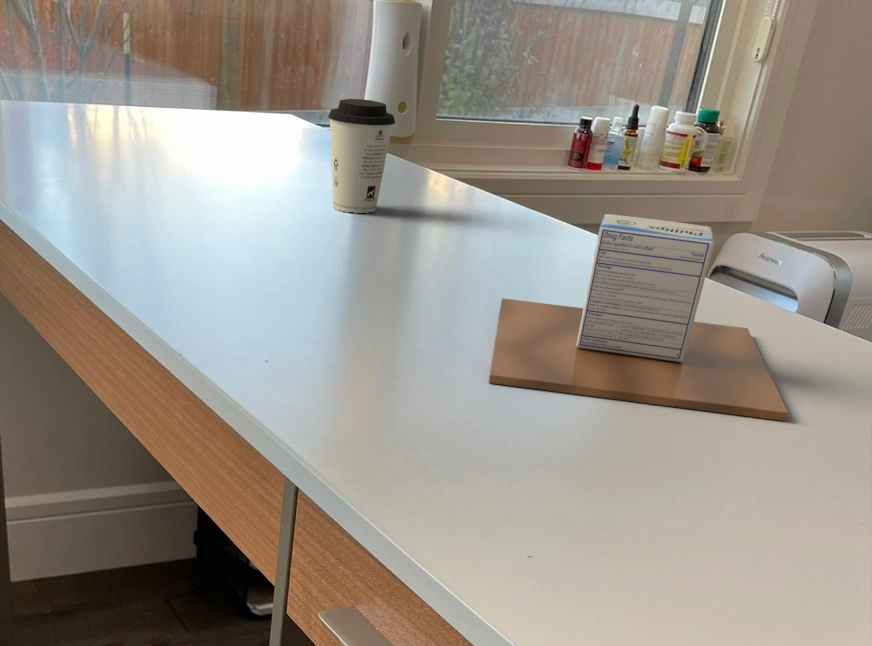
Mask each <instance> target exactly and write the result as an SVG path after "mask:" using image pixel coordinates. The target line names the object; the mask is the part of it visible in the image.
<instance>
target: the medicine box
mask: <svg viewBox="0 0 872 646" xmlns="http://www.w3.org/2000/svg"><path fill="white" fill-rule="evenodd" d="M596 237H597V238H596V242H595V248H594V253H593V258H592V264H591V268H590V273H589V278H588V284H587V289H586V293H585V299H584V305H583V308H584V309H583V314H582V319H581V324H580V329H579V334H578V339H577V344H576V347H577V348H583V349H590V350H598V351H605V352H612V353H619V354H626V355H633V356H640V357H647V358H654V359H661V360H668V361H676V362H683V361H684V359H685V355H686V351H687V347H688V343H689V339H690V334H691V331H692V327H693V323H694V322H695V319H696V314H697V311H698V307H699V306H698V305H699V303H700V300H701V297H702V292H703V288H704V284H705V279H706V275H707V272H708V269H709V264H710V262H711V257H712V253H713V250H714V246H715V239H714V235H713V229H712V228H711V227H710V226H709V225H699V224H693V223H685V222H678V221H671V220H664V219H653V218H646V217H637V216H629V215H628V216H627V215H619V214H612V213H605V214H604V215H602V217H601V222H600V225H599V228H598V232H597V236H596Z"/></svg>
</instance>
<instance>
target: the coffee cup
mask: <svg viewBox="0 0 872 646" xmlns="http://www.w3.org/2000/svg"><path fill="white" fill-rule="evenodd" d="M327 117H328V119H329V129H330V131H329V133H330V157H331V183H332V184H331V185H332V187H331V188H332V208H333V210H337V211H339V210H340V211H339V212H343V211H345V212H344V213H348V212H354V213H353V214H357V212H358V213H365V212H366V214H368V213H367V212H373V211H375V210H376V211H377V205H378V200H379V196H380V190H381V185H382V180H383V175H384V170H385V165H386V161H387V155H388V152H389V151H388V150H389V146H390V145H389V144H390V140H391V134H392V132H393V131H392V130H393V125H395V124H396V120H395V116H394V114H392V113H390V112H387V104H386V103H384V102H379V101H376V100H371V99H370V100H369V99H360V98H344V99H341V100H339V102H338V106H337V107H335V108H332V109H330V112H329V114H328V116H327ZM376 211H375V212H376ZM373 213H374V212H373Z"/></svg>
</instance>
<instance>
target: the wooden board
mask: <svg viewBox="0 0 872 646" xmlns="http://www.w3.org/2000/svg"><path fill="white" fill-rule="evenodd" d="M583 309H584V307H576V306H570V305H569V306H568V305H561V304H552V303H543V302H535V301H528V300H518V299H510V298H501V301H500V307H499V313H498V314H499V315H498V319H497V326H496V334H495V340H494V347H493V351H492V358H491V359H492V360H491V364H490V370H489V375H488V376H489V377H488V383H489V384H492V385H500V386H501V385H502V386H507V387H508V386H509V387H517V388H525V389H531V390H538V391H539V390H540V391H547V392H555V393H562V394H563V393H564V394H571V395H579V396H585V397H586V396H588V397H595V398H602V399H609V400H610V399H611V400H617V401H618V400H619V401H625V402H626V401H627V402H633V403H634V402H635V403H640V404H649V405H657V406H664V407H672V408H680V409H687V410H688V409H689V410H694V411H695V410H696V411H703V412H709V413H711V412H712V413H719V414H726V415H734V416H743V417H749V418H750V417H751V418H757V419H766V420H774V421H780V422H786V421H787V419H788V417H789V411H788V409H787V406H786V405H785V403H784V401H783V398H782V396H781V394H780V392H779V390H778V388H777V387H776V384H775V382H774V380H773V377H772V376H771V374H770V372H769V370H768V367H767V366H766V363H765V361H764V359H763V357H762V355H761V353H760V351H759V349H758V346H757V345H756V343H755V341H754V339H753V337H752V335H751V333H750V330H749V328H748V327H742V326H734V325H733V326H732V325H725V324H717V323H709V322H708V323H707V322H699V321H694V323H693V327H692V331H691V334H690V339H689V343H688V347H687V351H686V355H685V359H684V361H683V362H676V361H668V360H661V359H654V358H647V357H640V356H633V355H626V354H619V353H612V352H605V351H598V350H590V349H583V348H577V347H576V344H577V339H578V334H579V329H580V324H581V319H582V314H583Z"/></svg>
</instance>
